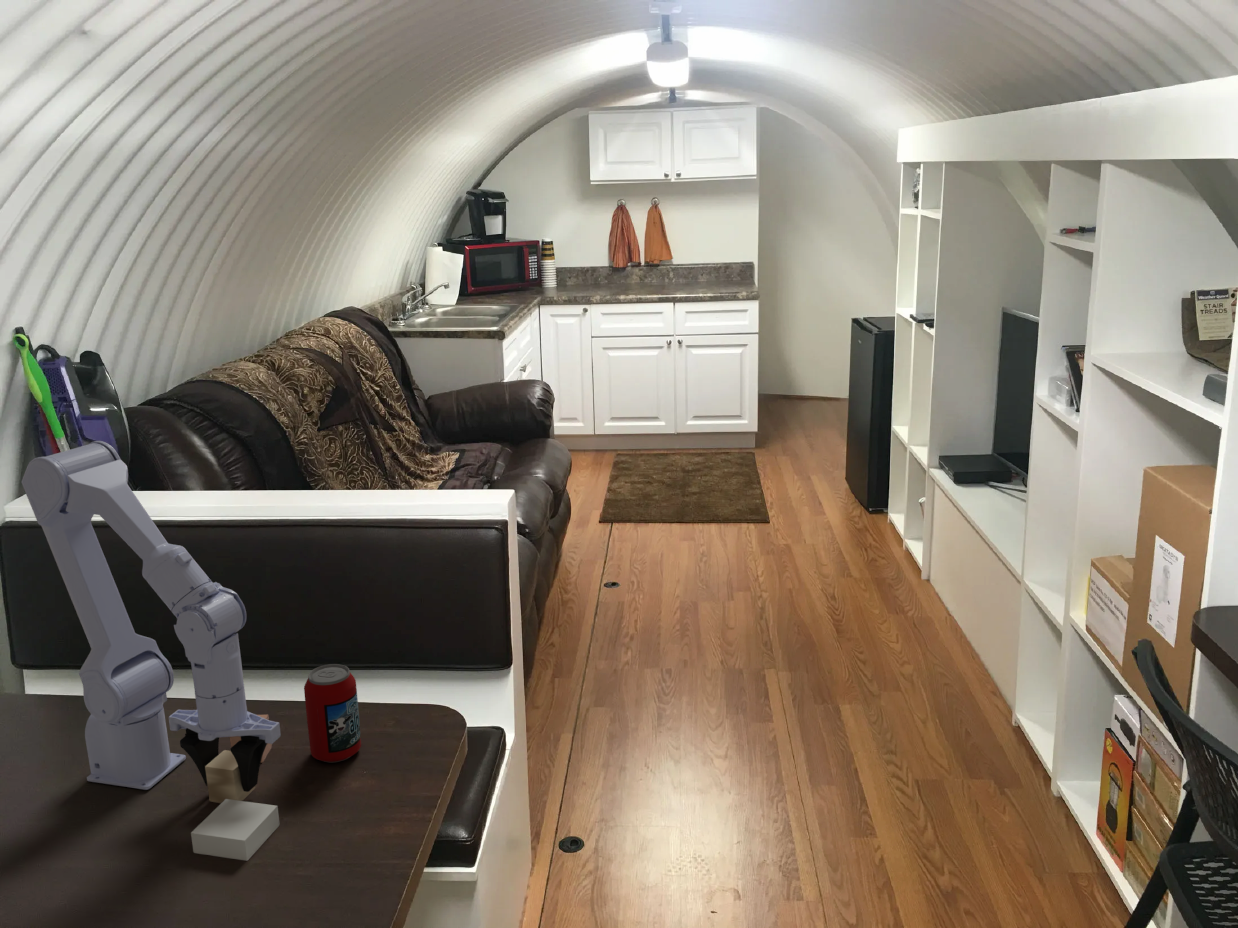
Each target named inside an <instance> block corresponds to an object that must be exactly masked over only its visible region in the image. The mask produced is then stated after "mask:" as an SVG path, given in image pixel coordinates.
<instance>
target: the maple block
mask: <svg viewBox="0 0 1238 928" xmlns="http://www.w3.org/2000/svg"><path fill="white" fill-rule="evenodd" d="M205 770H206V777H207V785H208V786H207V790H208V797H209V799H208V800H209V802H210V803H211V802H213V803H218V804H221V803H222V802H223V801H224V800H225V799H230V800H238V801H244V800H245V799H246V798H247V797H249V795H250V794H251V793H252V792H253V791H254V790H255V789H256V788H257V787H256V786H257V784H256V785H255V786H254V787H253V788H252V789H251V790H250V791H249V792H246V791H243V788H242V785H241V778H240V772H239V768H238V765H237V762H236V760H235V757H234V756H233V754H232V752H231V750H228V749H227V750H226V749H224V750H222V751H221V752H220V753H219V755H218V756H217V757H215V758H214V759H213V760H212V761H211V762H210V763H209V764H207V765H206V766H205Z"/></svg>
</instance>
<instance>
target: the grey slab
mask: <svg viewBox="0 0 1238 928" xmlns="http://www.w3.org/2000/svg"><path fill="white" fill-rule="evenodd" d="M278 807H279V806H278V805H276V804H275V805H273V804H266V803H258V802H252V801H244V800H243V801H238V800H230V799H225V800H224V801H223V802H222V803H219V805H217V807H216V808H215V809H213V811H212V812H211V813H210V814H209V815H208V816H207V817H206V818H205V819H204V820H203V821H202V822H200V823H199V824H198V825H197V826H196V827H195V828H194V829H193V830H192V831H191V832H190V836H191V842H192V843H191V844H192V852H193V853H194V854H199V855H208V856H213V857H220V858H226V859H234V860H239V861H249V859H251V858H252V856H253V855H254V854H255V853H256V852H257V851H258V850H259V849H260V848H261V846H262V845H264V843H265V842H266V841H267V839H269V837H271V835H272V834H273V833H274V832H275V831H276V830H277V829H278V828H279V826H280V825H281V823H280V817H279V808H278Z"/></svg>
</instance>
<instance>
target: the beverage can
mask: <svg viewBox="0 0 1238 928" xmlns="http://www.w3.org/2000/svg"><path fill="white" fill-rule="evenodd" d="M307 676H308V677H307V679H306V682H305V683H304V687H303V692H304V702H305V711H306V712H305V713H306V723H307V732H308V740H309V749H310V754H311V756H312V757H313V759H316V760H319V761H321V762H325V763H331V764H332V763H339V762H342V761H346V760H348V759H349V758H351V757H352V756H354V755H355V754H357V753H358V752H359V751H360V749H361V747H362V737H361V724H360V713H359V701H358V690H357V680H356V678H355V676H354V675H353V674H352V673H351V672H350V668H349V667H348V666H347V665H343V664H338V663H330V664H324V665H320V666H318V667H315V668H314V669H312V670H311V671H310V672H309V673H308V675H307Z"/></svg>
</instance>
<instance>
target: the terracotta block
mask: <svg viewBox="0 0 1238 928" xmlns="http://www.w3.org/2000/svg"><path fill="white" fill-rule="evenodd" d="M257 715H258V716H260V717H262V718H265V719H267V720H269V719H270V717H269V714H257ZM229 741H230V749H231V748H232V747H233V746H234V745H235V744H236V743H237V742H238V741H241V737H240V736H233V737H229ZM272 745H273V744H269V743H267V745H266V748H265V750H264V753H263V756H262V759H261V763H264V761H265V760H266V758H267V756H268V754H269V753H270V751H271V749H272V748H273V746H272ZM261 763H260V764H261Z"/></svg>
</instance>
